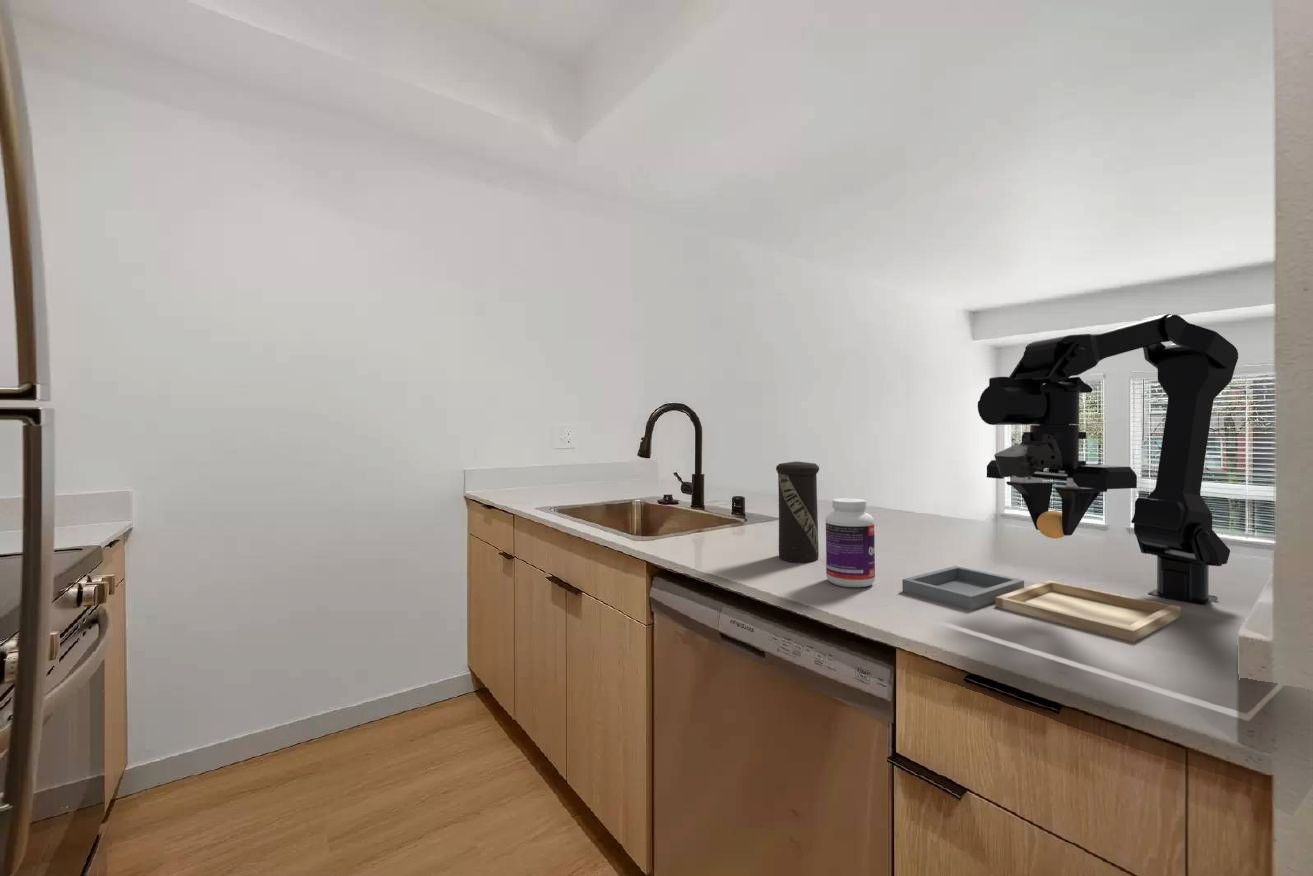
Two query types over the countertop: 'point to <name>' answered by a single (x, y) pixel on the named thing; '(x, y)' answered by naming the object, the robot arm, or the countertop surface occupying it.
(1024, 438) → the robot arm
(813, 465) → the container
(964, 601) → the tray
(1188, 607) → the countertop surface
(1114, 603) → the dish
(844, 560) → the pill bottle
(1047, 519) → the ball
